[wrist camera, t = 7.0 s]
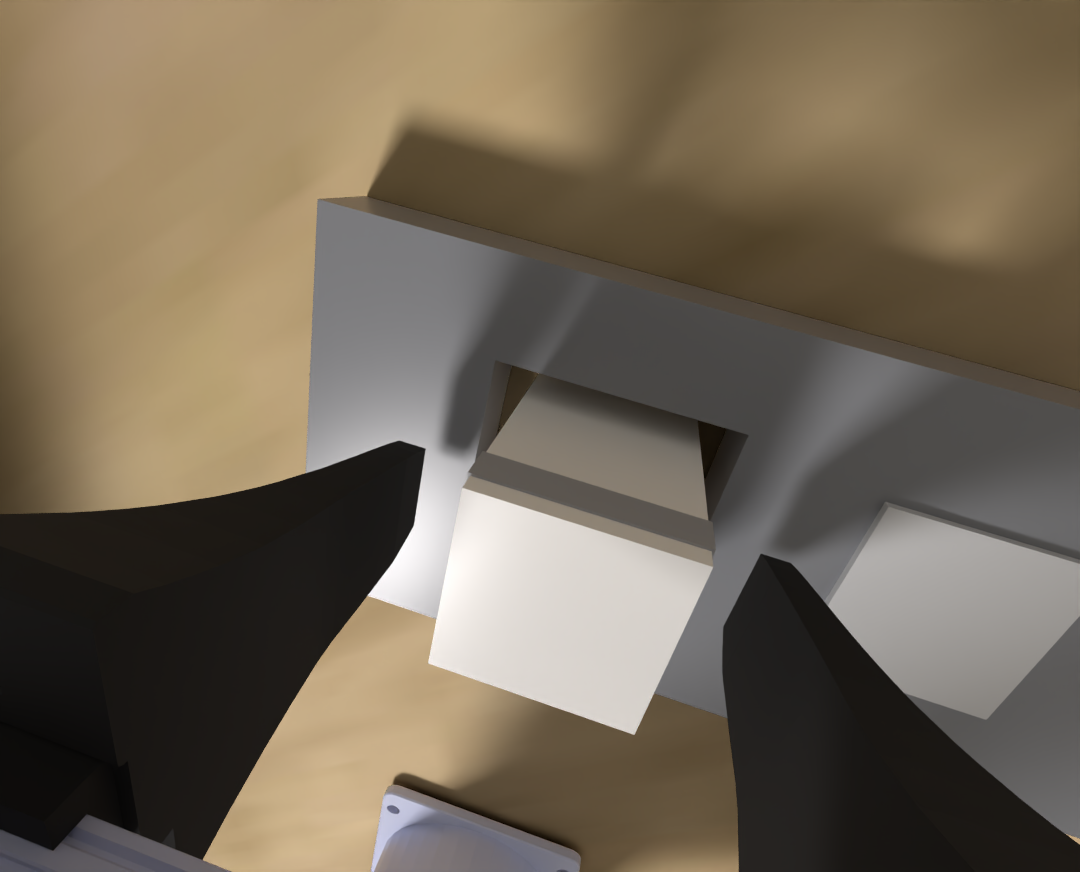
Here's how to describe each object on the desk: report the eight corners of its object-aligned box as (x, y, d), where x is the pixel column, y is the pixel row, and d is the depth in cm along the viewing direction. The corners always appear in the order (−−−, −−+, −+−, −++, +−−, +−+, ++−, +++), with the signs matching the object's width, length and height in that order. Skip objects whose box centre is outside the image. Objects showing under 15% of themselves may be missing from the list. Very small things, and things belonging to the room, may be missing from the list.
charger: (648, 545, 16) (636, 737, 10) (507, 501, 16) (425, 664, 11) (700, 414, 14) (718, 566, 8) (539, 367, 14) (459, 483, 9)
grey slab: (1496, 505, 11) (1756, 608, 8) (1140, 799, 16) (1237, 928, 13) (365, 195, 13) (288, 201, 11) (338, 533, 18) (279, 596, 15)
